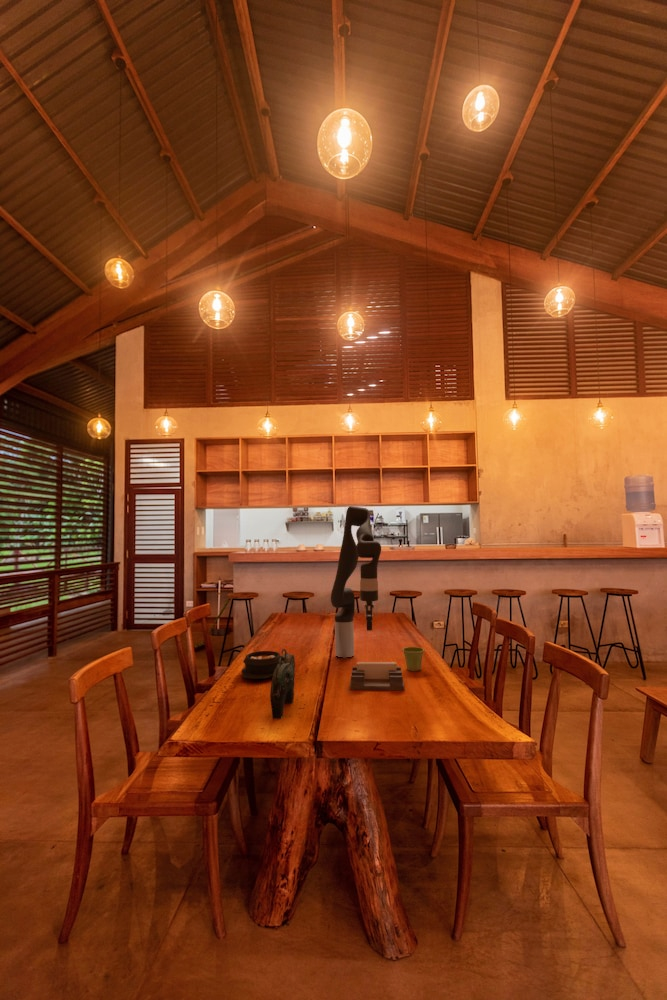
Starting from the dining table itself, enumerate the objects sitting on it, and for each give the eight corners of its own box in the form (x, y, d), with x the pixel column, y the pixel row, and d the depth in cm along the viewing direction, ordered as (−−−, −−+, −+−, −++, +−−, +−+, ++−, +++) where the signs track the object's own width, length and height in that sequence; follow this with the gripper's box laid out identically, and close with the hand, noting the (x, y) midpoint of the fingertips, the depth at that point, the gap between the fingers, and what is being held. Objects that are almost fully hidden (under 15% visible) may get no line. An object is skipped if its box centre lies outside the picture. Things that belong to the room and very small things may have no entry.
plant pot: (425, 672, 204) (424, 652, 205) (403, 672, 206) (402, 651, 206) (424, 666, 213) (423, 647, 214) (403, 666, 215) (402, 646, 215)
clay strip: (357, 676, 195) (357, 661, 196) (396, 676, 194) (395, 662, 195) (357, 678, 193) (356, 663, 193) (396, 678, 192) (396, 663, 192)
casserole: (275, 684, 193) (274, 663, 194) (231, 682, 196) (231, 662, 197) (291, 667, 218) (290, 648, 218) (252, 665, 221) (252, 647, 221)
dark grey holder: (351, 678, 198) (351, 666, 198) (402, 679, 196) (401, 666, 196) (349, 689, 184) (349, 676, 184) (404, 690, 182) (404, 676, 183)
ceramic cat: (282, 698, 176) (282, 643, 177) (299, 699, 175) (299, 643, 176) (266, 719, 157) (266, 657, 158) (285, 720, 156) (285, 658, 157)
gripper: (378, 591, 191) (378, 632, 190) (377, 586, 205) (378, 624, 204) (359, 591, 191) (360, 631, 191) (360, 586, 206) (360, 624, 205)
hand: (369, 628), depth 197 cm, fingers open, 8 cm apart
